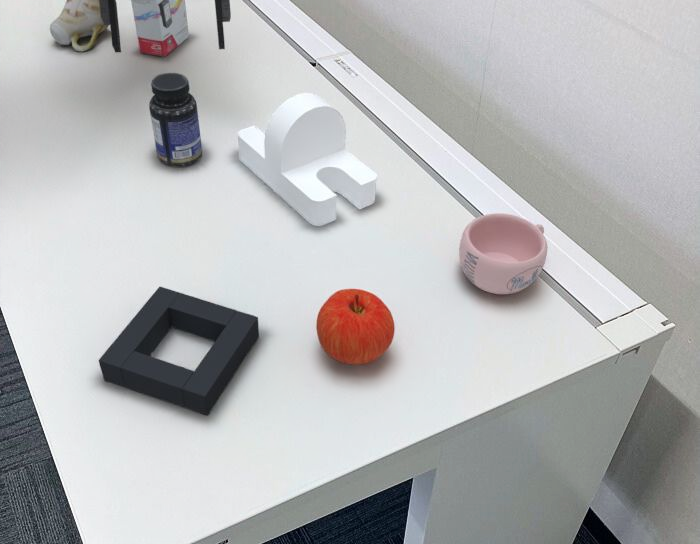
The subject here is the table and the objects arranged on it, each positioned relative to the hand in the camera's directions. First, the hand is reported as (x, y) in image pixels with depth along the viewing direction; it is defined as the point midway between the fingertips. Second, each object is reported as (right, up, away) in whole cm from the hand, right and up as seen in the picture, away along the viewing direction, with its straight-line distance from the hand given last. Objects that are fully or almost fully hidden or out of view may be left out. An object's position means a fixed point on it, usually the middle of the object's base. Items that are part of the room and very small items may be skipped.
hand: (169, 47), depth 102 cm
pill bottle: (0, -13, +4) cm, 14 cm away
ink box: (-7, +10, +26) cm, 29 cm away
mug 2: (+42, -31, -9) cm, 53 cm away
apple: (+24, -40, -19) cm, 50 cm away
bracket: (+18, -17, +2) cm, 25 cm away
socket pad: (+6, -41, -21) cm, 46 cm away
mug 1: (-20, +12, +26) cm, 35 cm away
